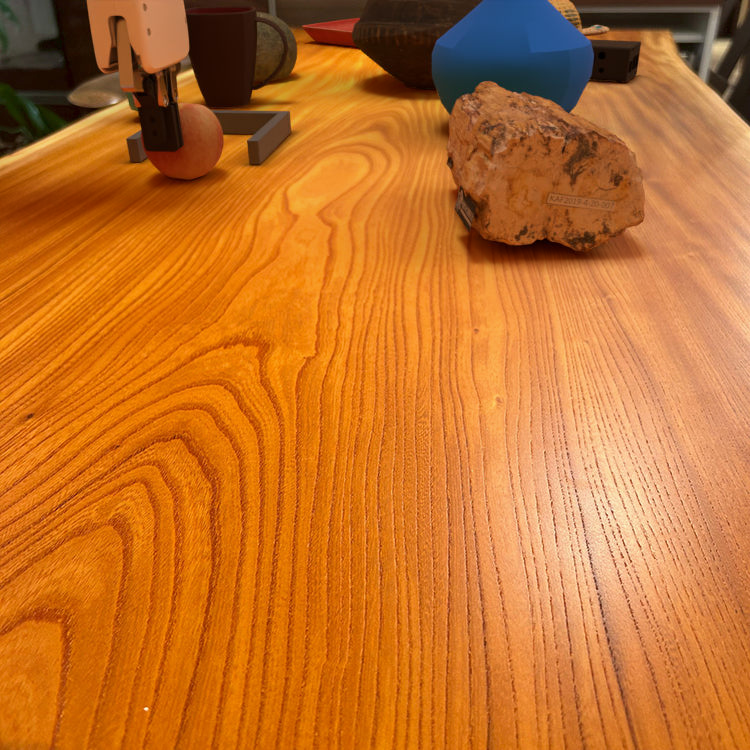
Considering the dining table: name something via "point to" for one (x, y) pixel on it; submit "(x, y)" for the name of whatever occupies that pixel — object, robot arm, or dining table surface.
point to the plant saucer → (332, 32)
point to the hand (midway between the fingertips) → (164, 148)
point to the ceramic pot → (407, 35)
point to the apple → (192, 145)
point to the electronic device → (615, 60)
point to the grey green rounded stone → (273, 49)
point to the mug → (227, 53)
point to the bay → (239, 132)
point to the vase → (513, 53)
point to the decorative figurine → (576, 18)
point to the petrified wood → (539, 172)
